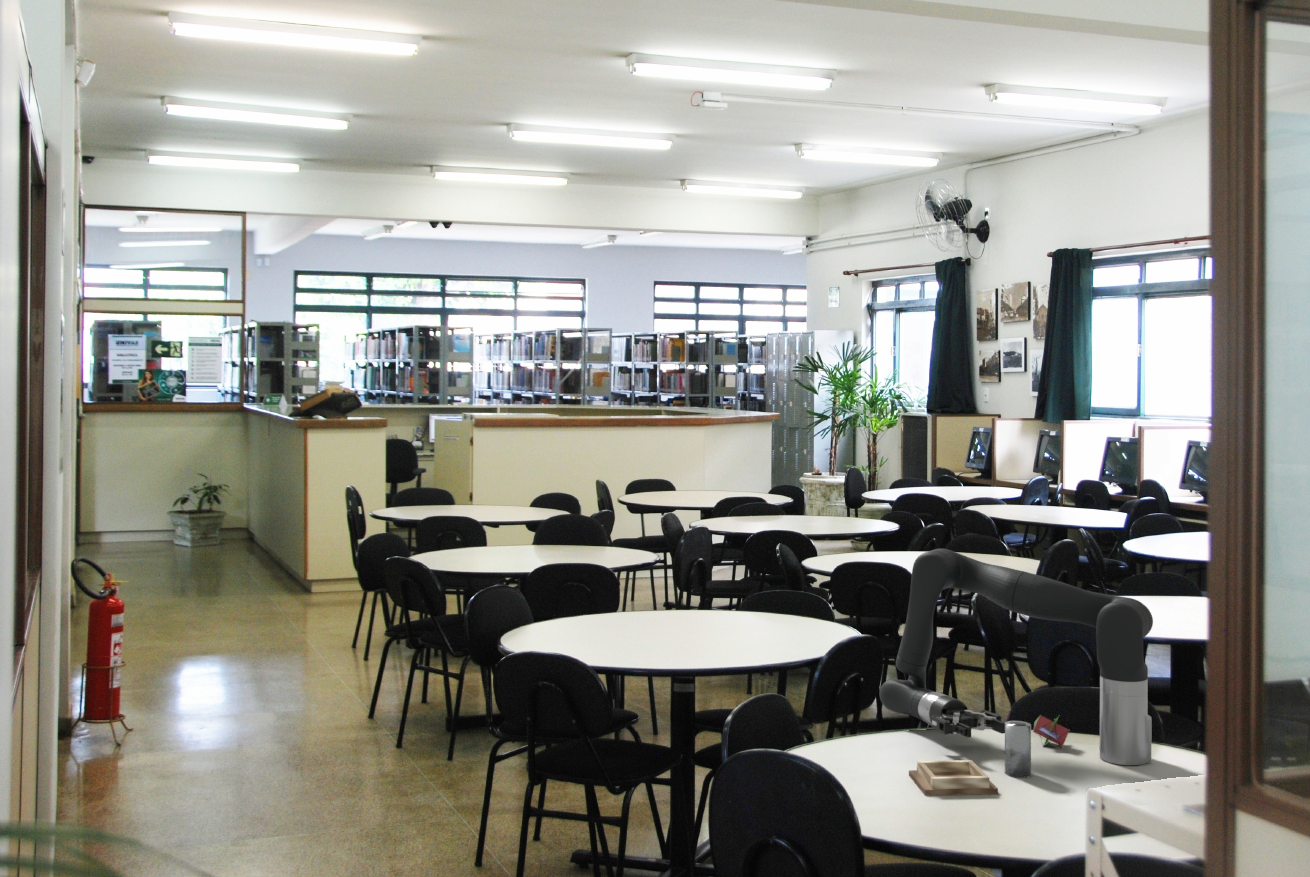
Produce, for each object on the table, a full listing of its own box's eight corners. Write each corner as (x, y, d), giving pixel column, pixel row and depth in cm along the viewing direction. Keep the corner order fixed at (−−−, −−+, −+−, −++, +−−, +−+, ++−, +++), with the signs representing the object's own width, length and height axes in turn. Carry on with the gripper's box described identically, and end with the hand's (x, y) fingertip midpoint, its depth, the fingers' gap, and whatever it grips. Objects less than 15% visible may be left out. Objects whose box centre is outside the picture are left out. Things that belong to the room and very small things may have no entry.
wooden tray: (978, 774, 235) (978, 759, 235) (998, 793, 223) (998, 778, 223) (908, 775, 235) (908, 760, 235) (924, 795, 223) (924, 779, 223)
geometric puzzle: (1079, 735, 255) (1057, 703, 258) (1072, 742, 250) (1049, 710, 252) (1052, 750, 258) (1030, 719, 261) (1045, 758, 253) (1022, 726, 255)
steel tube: (1025, 769, 238) (1025, 720, 238) (1034, 777, 233) (1034, 726, 233) (1001, 769, 238) (1001, 720, 238) (1009, 777, 233) (1009, 727, 233)
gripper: (914, 698, 258) (958, 716, 243) (970, 692, 263) (1015, 709, 247) (914, 732, 258) (958, 752, 243) (970, 725, 263) (1015, 745, 248)
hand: (987, 730), depth 245 cm, fingers open, 8 cm apart
